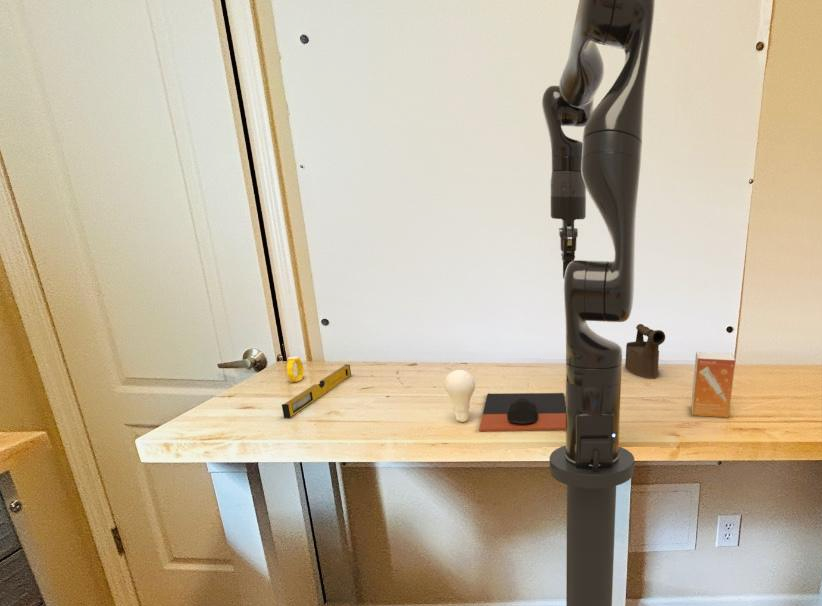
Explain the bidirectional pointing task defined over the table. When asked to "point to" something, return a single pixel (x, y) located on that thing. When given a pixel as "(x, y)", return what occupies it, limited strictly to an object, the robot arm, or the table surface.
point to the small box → (712, 384)
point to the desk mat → (548, 419)
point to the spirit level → (315, 391)
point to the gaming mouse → (522, 411)
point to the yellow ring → (290, 368)
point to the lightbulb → (460, 392)
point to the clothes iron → (644, 352)
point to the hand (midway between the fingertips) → (568, 279)
